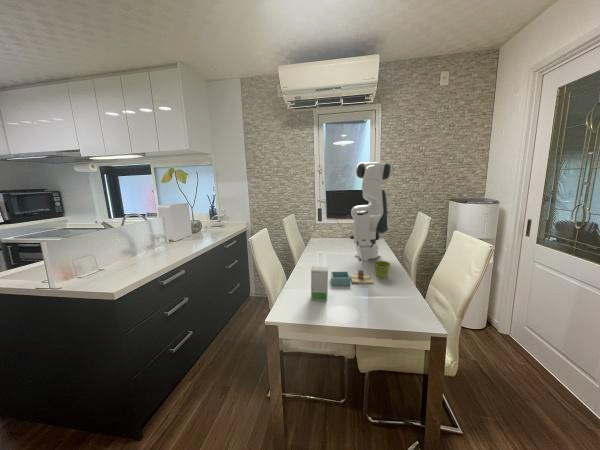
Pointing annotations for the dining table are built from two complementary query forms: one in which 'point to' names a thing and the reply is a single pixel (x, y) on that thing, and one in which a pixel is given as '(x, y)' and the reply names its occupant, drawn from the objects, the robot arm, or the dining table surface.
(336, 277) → the teal open box
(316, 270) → the skincare box
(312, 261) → the dining table surface
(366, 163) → the robot arm
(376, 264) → the plant pot
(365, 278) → the lid
